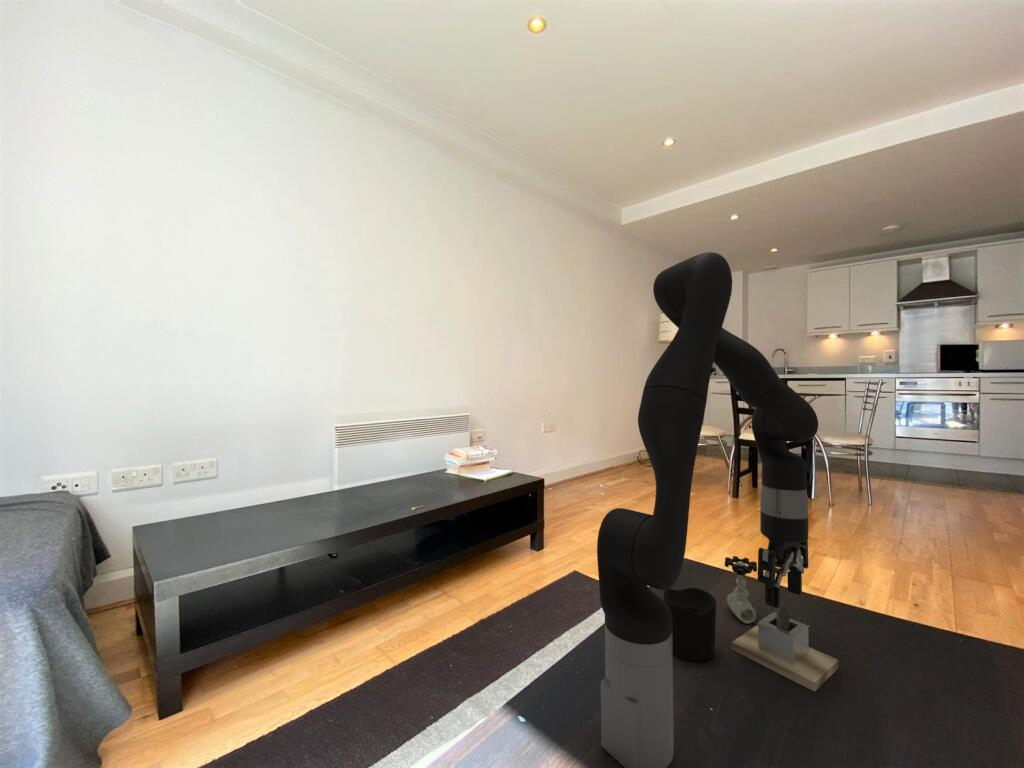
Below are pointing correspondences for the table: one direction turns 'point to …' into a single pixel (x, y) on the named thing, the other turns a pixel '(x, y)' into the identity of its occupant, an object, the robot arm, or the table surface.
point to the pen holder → (692, 623)
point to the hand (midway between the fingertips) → (784, 599)
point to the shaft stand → (804, 672)
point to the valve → (741, 589)
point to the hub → (783, 639)
